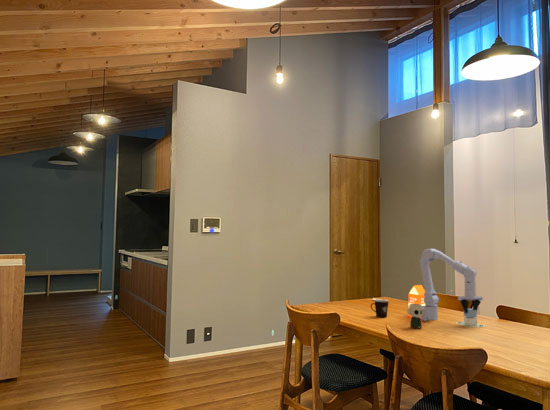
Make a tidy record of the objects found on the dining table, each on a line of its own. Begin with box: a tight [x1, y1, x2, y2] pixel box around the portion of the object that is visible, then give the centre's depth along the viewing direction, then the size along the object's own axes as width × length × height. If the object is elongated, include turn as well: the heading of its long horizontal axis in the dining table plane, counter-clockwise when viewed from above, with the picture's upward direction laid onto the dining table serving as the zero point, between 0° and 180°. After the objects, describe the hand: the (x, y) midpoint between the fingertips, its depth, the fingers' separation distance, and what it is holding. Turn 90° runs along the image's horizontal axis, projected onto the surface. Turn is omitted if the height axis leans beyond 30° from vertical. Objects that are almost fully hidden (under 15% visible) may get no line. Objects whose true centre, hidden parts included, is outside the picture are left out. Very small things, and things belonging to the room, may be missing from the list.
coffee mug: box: [370, 299, 389, 319], centre depth 263 cm, size 12×9×10 cm
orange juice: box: [408, 284, 425, 318], centre depth 266 cm, size 8×9×20 cm
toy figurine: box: [406, 303, 424, 329], centre depth 232 cm, size 11×7×13 cm, turn 106°
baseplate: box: [455, 321, 487, 328], centre depth 239 cm, size 12×12×2 cm
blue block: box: [463, 308, 478, 318], centre depth 240 cm, size 5×5×4 cm
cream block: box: [463, 316, 478, 326], centre depth 239 cm, size 5×5×4 cm
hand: (470, 312), depth 240 cm, fingers closed on blue block, 5 cm apart
